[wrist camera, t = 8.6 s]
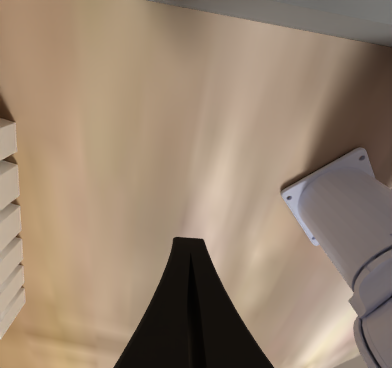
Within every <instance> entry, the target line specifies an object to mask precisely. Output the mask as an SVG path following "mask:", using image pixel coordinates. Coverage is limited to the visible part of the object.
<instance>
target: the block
mask: <svg viewBox="0 0 392 368" xmlns="http://www.w3.org/2000/svg"><path fill="white" fill-rule="evenodd" d="M148 1H153V2H159V3H164V4H169V5H174V6H179V7H185V8H190V9H195V10H200V11H206V12H211V13H216V14H221V15H227V16H232V17H237V18H242V19H248V20H253V21H258V22H263V23H268V24H274V25H279V26H284V27H289V28H295V29H300V30H305V31H310V32H316V33H321V34H326V35H331V36H337V37H342V38H347V39H352V40H357V41H363V42H368V43H373V44H378V45H384V46H389V47H392V0H148Z"/></svg>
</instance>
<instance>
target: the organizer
mask: <svg viewBox="0 0 392 368" xmlns="http://www.w3.org/2000/svg"><path fill="white" fill-rule="evenodd" d="M16 152H17V139H16V123H15V122H12V121H9V120H6V119H3V118H0V339H1V338H2V337H3V335H4V334H5V332H6V331H7V329H8V328H9V326H10V325H11V323H12V322H13V320H14V319H15V317H16V316H17V314H18V313H19V311H20V310H21V308H22V307H23V305H24V304H25V288H21V286H22V285H23V284H24V266H23V265H18V264H19V263H20V262H21V261H22V260H23V248H22V239H21V238H16V236H17V234H18V233H19V232H20V231H21V212H20V206H19V205H15V204H11V202H12V201H13V200H15V199H16V198H17V197H18V196H20V193H19V175H18V165H17V164H14V163H10V162H7V161H3V159H4V158H6V157H8V156H10V155H12V154H14V153H16Z"/></svg>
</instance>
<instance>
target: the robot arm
mask: <svg viewBox="0 0 392 368" xmlns="http://www.w3.org/2000/svg"><path fill="white" fill-rule="evenodd" d="M361 156H362V157H361ZM360 157H361V158H360ZM359 158H360V159H359ZM281 196H282V198H283V199H284V201H285V202H286V204H287V205H288V207H289V208H290V210H291V211H292V213H293V214H294V216H295V218H296V219H297V221H298V222H299V224H300V225H301V227H302V228H303V230H304V231H305V233H306V234H307V236H308V238H309V239H310V241H311V242H312V244H313V245H315V246H316V245H320V246H321V247H322V249H323V250H324V251H325V253H326V254H327V256H328V257H329V258H330V260H331V261H332V263H333V264H334V265H335V267H336V268H337V270H338V271H339V273H340V274H341V275H342V277H343V278H344V280H345V281H346V282H347V284H348V285H349V287H350V288H351V289H352V291H353V292H354V294H353V296H352V297H351V298H350V299H349V303H350V304H351V306H352V307H353V309H354V310H355V312H356V313H357V315H358V317H357V318H356V320H355V322H354V327H353V330H354V337H355V341H356V344H357V346H358V349H359V352H360V354H361V356H362V357H363V360H364V362H365V363H366V365H367V367H368V368H392V189H391V188H389V187H387V186H386V185H384V184H383V183H381V182H380V181H378V180H377V179H375V176H374V173H373V170H372V167H371V164H370V161H369V158H368V155H367V152H366V150H365V149H364V148H362V147H359V148H356V149H354V150H353V151H351V152H349V153H347V154H346V155H344V156H342V157H340V158H338V159H337V160H335V161H333V162H331V163H330V164H328V165H326V166H324V167H323V168H321V169H319V170H317V171H315V172H314V173H312V174H310V175H308V176H307V177H305V178H303V179H301V180H300V181H298V182H296V183H294V184H292V185H291V186H289V187H287V188H285V189H284V190H282V192H281ZM288 196H290V197H289V198H287V197H288ZM114 368H274V367H273V365H272V364H271V363H270V361H269V360H268V358H267V357H266V356H265V354H264V353H263V351H262V350H261V349H260V347H259V346H258V344H257V343H256V341H255V340H254V338H253V336H252V335H251V333H250V332H249V330H248V329H247V327H246V325H245V324H244V322H243V321H242V319H241V317H240V316H239V314H238V312H237V311H236V309H235V307H234V305H233V303H232V302H231V300H230V298H229V296H228V294H227V292H226V290H225V289H224V287H223V285H222V282H221V280H220V278H219V276H218V274H217V272H216V270H215V268H214V265H213V263H212V261H211V258H210V256H209V253H208V251H207V248H206V245H205V242H204V240H203V239H198V238H183V237H175V238H173V245H172V249H171V253H170V256H169V259H168V262H167V265H166V268H165V270H164V273H163V275H162V278H161V280H160V283H159V285H158V287H157V289H156V291H155V293H154V296H153V298H152V300H151V302H150V304H149V306H148V308H147V310H146V312H145V314H144V316H143V318H142V319H141V321H140V323H139V325H138V327H137V329H136V330H135V332H134V334H133V336H132V337H131V339H130V341H129V343H128V344H127V346H126V348H125V349H124V351H123V353H122V355H121V356H120V358H119V359H118V361H117V363H116V364H115V366H114Z"/></svg>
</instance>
